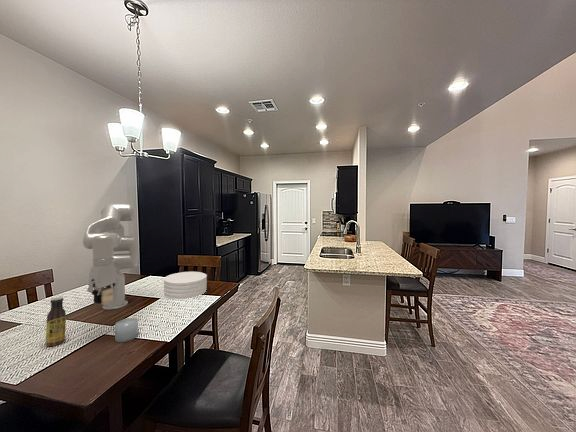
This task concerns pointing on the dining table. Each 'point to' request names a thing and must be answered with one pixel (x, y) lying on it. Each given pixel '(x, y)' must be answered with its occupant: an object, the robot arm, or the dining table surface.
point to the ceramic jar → (126, 329)
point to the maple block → (106, 295)
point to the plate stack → (185, 285)
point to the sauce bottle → (56, 323)
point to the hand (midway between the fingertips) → (103, 300)
